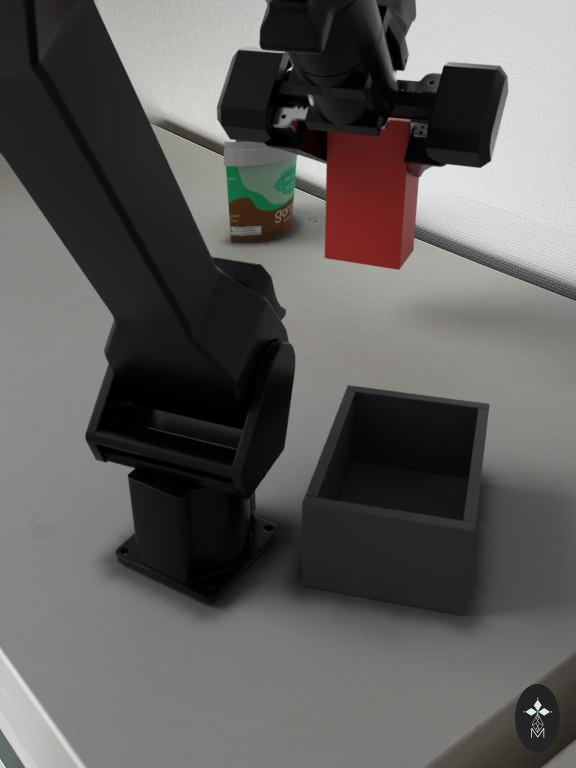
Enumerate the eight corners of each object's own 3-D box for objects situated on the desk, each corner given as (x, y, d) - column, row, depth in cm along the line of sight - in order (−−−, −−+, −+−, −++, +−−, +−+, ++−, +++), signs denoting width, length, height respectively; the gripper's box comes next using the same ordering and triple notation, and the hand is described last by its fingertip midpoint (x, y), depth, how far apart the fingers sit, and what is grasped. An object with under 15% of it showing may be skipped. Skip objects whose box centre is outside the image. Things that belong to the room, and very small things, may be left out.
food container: (290, 253, 82) (290, 147, 77) (226, 248, 83) (222, 143, 78) (313, 208, 92) (314, 112, 87) (256, 204, 93) (254, 109, 88)
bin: (462, 616, 43) (474, 530, 40) (301, 586, 45) (301, 502, 42) (478, 480, 52) (489, 403, 49) (344, 460, 54) (347, 384, 51)
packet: (399, 270, 65) (409, 121, 59) (324, 258, 67) (327, 113, 61) (413, 251, 68) (424, 108, 63) (341, 240, 70) (345, 101, 65)
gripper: (524, -79, 49) (528, 82, 64) (227, -85, 55) (292, 63, 70) (481, 94, 47) (494, 220, 62) (177, 67, 53) (254, 188, 68)
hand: (379, 166), depth 65 cm, fingers closed on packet, 6 cm apart
